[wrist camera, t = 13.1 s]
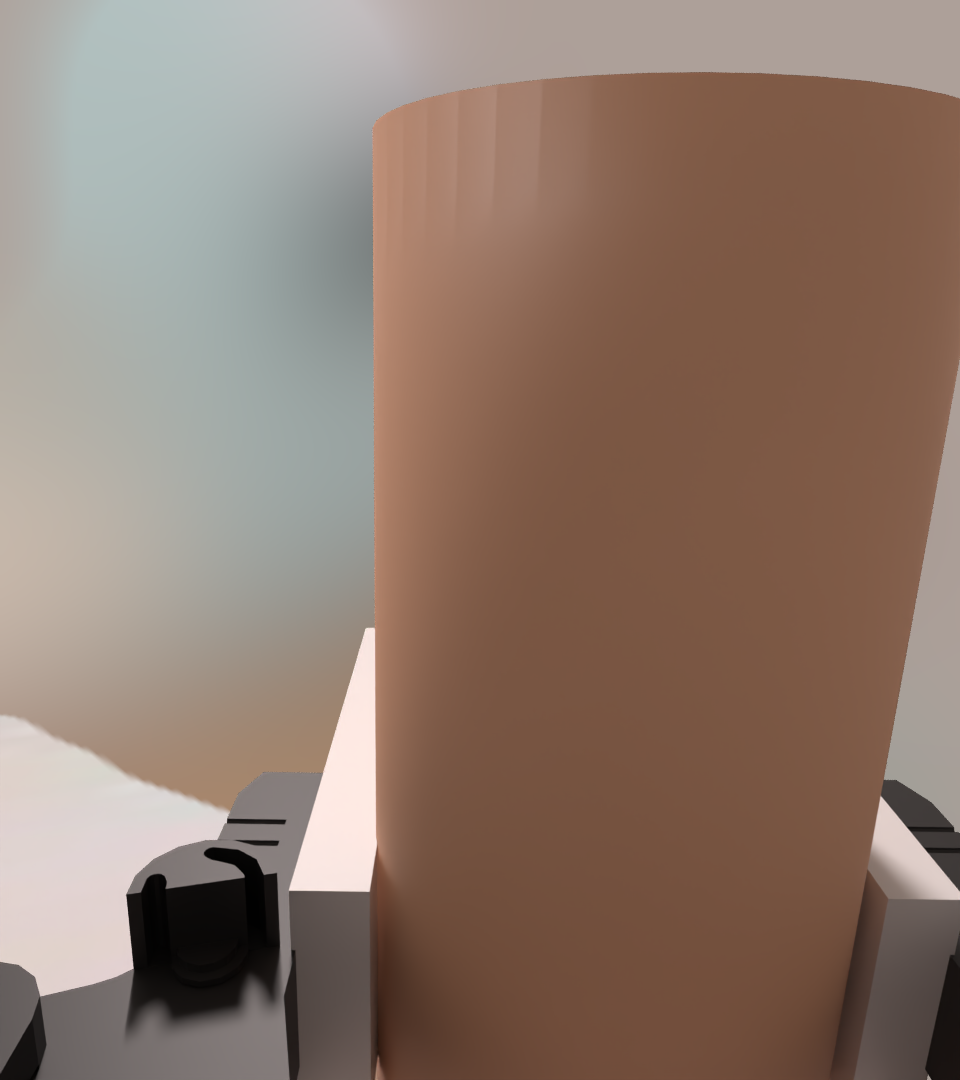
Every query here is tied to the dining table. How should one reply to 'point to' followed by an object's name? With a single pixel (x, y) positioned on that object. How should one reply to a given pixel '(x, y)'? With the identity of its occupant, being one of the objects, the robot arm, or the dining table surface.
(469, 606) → the peg
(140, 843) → the dining table surface
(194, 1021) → the robot arm
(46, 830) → the dining table surface
